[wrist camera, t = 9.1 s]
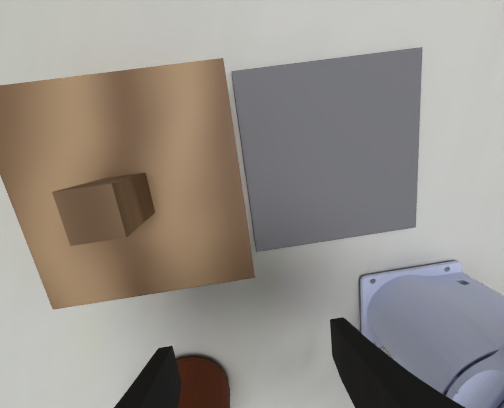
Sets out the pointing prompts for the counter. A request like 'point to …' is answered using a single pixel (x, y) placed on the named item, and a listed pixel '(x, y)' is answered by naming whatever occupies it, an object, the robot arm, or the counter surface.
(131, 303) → the counter surface
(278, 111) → the mat
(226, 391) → the bottle
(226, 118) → the lid
